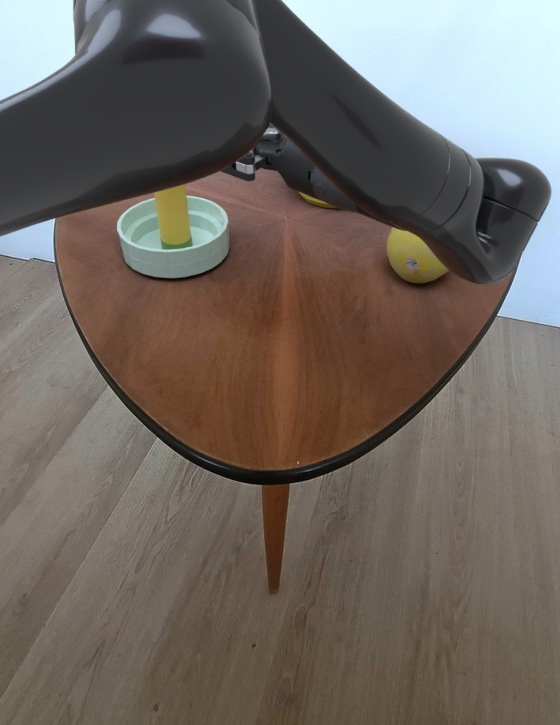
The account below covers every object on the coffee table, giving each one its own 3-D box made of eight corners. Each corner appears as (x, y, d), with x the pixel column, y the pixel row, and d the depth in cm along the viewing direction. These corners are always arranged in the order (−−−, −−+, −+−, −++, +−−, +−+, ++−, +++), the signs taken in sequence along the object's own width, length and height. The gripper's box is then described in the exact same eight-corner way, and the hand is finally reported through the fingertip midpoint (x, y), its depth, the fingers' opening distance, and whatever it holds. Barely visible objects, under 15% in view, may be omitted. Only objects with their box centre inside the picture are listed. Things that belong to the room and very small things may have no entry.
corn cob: (160, 255, 88) (146, 172, 78) (163, 239, 92) (151, 156, 82) (191, 255, 88) (182, 171, 79) (193, 238, 92) (184, 156, 82)
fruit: (451, 298, 82) (468, 240, 76) (379, 288, 84) (389, 230, 77) (451, 261, 90) (467, 204, 83) (385, 252, 91) (394, 196, 84)
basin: (102, 268, 87) (94, 237, 83) (157, 216, 98) (152, 187, 95) (201, 292, 83) (197, 261, 79) (245, 235, 94) (244, 206, 91)
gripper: (382, 108, 57) (264, 73, 64) (294, 151, 49) (171, 105, 56) (372, 177, 62) (264, 137, 69) (291, 226, 54) (179, 175, 62)
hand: (222, 123), depth 63 cm, fingers open, 8 cm apart
